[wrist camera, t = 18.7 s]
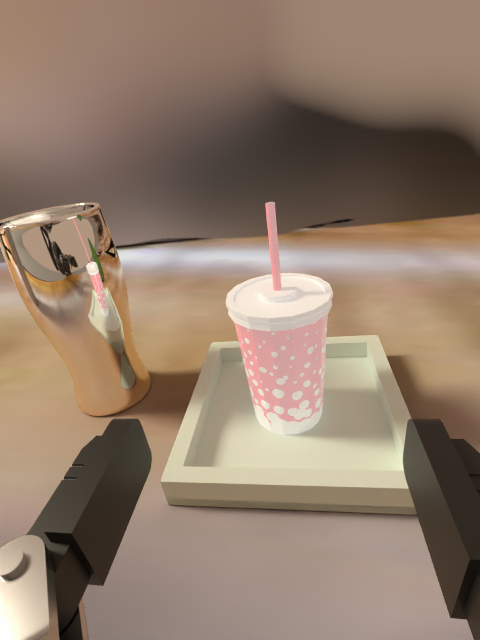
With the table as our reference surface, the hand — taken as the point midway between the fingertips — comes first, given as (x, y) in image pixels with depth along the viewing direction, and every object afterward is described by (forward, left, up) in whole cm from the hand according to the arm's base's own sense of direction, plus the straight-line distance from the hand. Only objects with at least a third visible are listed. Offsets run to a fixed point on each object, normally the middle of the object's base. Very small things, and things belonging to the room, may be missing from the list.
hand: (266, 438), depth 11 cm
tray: (0, +11, -10) cm, 15 cm away
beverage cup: (0, +11, -9) cm, 14 cm away
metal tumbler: (-15, +14, -10) cm, 23 cm away
